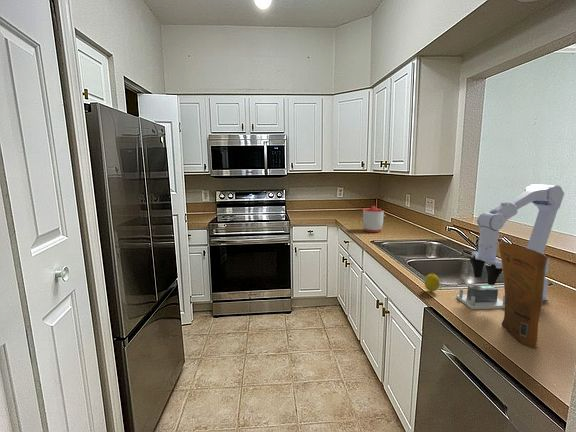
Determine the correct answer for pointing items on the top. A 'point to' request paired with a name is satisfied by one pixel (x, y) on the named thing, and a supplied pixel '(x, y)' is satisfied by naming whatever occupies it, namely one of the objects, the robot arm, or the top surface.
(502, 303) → the tray
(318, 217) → the top surface
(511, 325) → the pancake mix bag
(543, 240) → the robot arm
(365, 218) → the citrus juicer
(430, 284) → the lemon
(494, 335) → the top surface
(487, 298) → the block
